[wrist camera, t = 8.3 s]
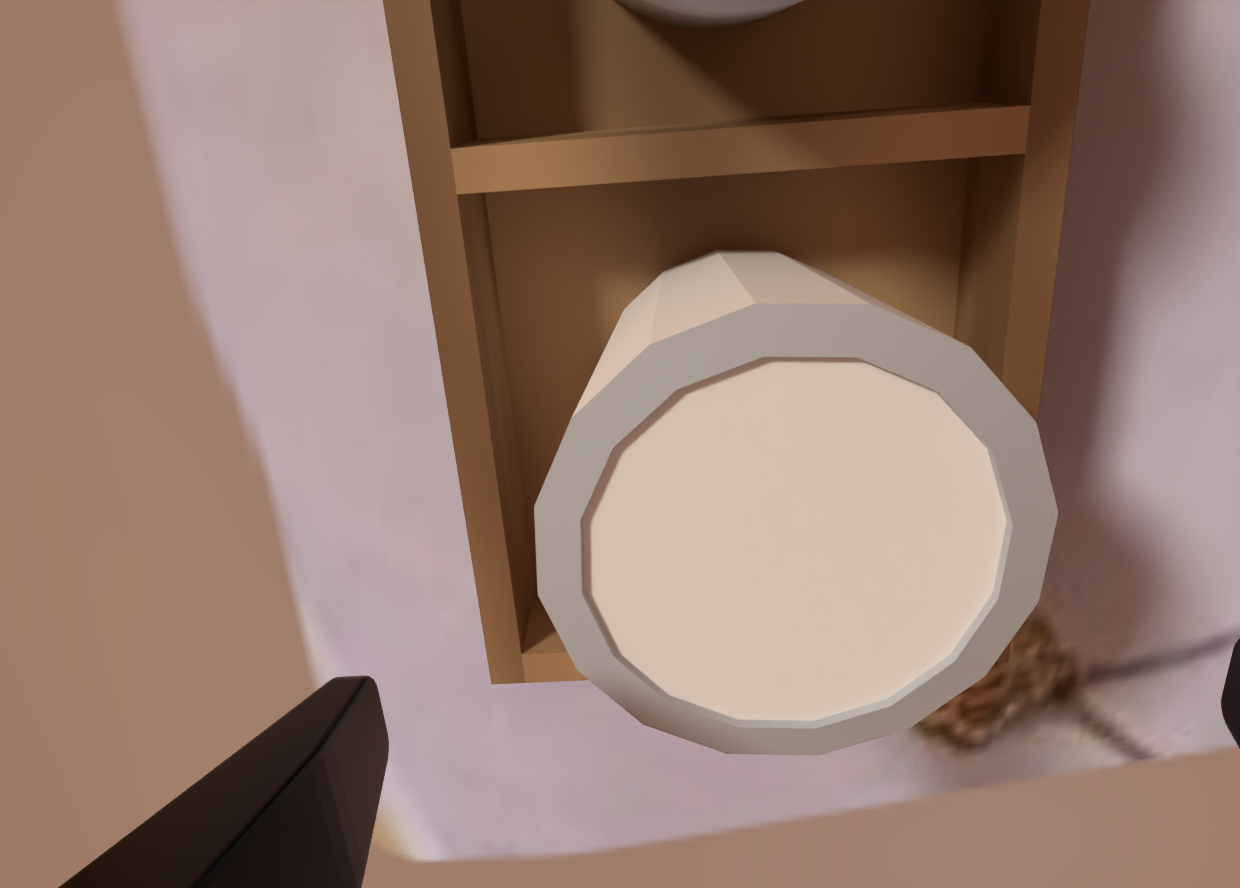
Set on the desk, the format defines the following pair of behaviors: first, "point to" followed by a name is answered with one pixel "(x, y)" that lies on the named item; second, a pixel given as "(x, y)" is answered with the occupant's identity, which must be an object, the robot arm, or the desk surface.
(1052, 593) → the desk surface
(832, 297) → the shot glass
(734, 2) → the white rounded cylinder
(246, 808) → the robot arm
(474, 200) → the rack
